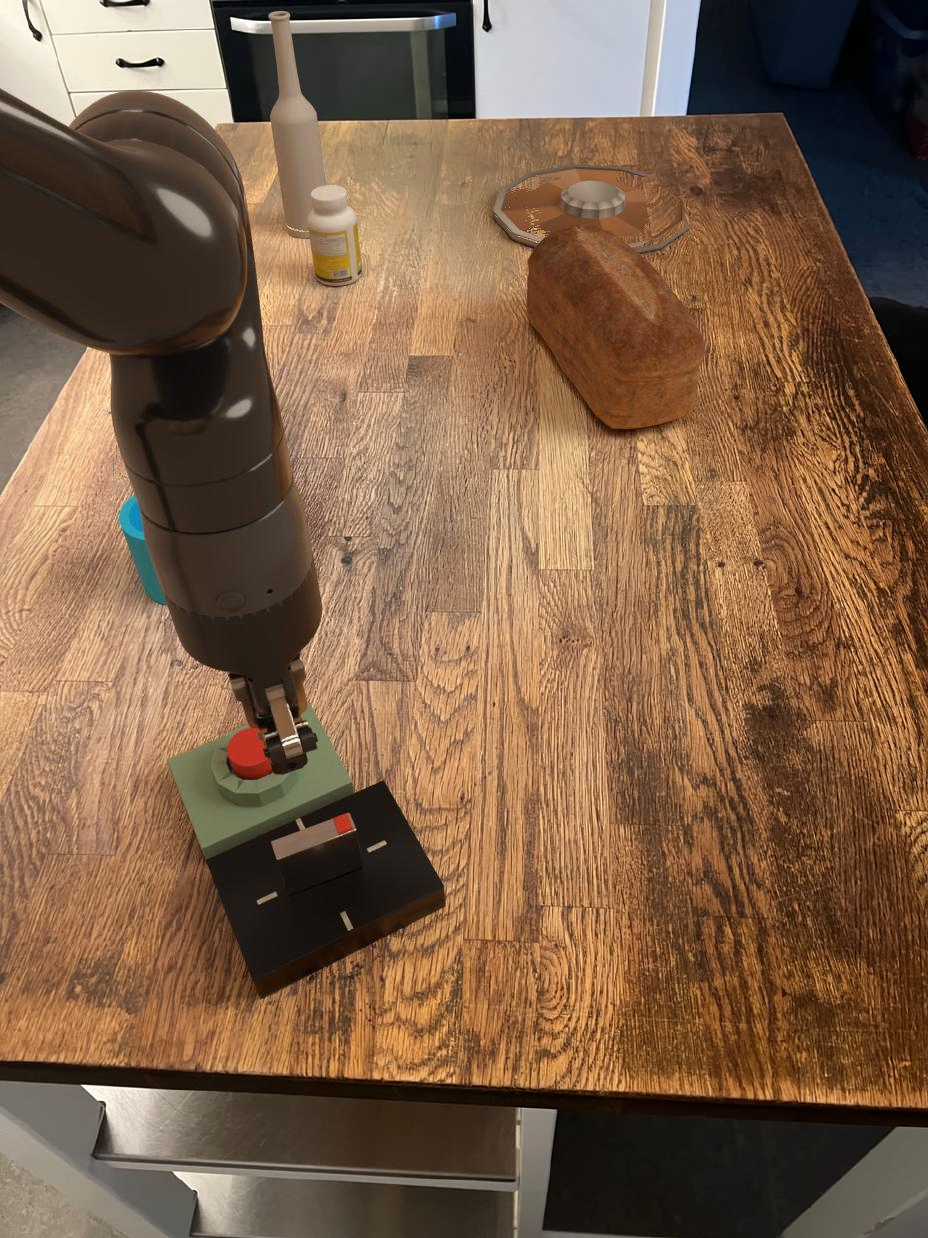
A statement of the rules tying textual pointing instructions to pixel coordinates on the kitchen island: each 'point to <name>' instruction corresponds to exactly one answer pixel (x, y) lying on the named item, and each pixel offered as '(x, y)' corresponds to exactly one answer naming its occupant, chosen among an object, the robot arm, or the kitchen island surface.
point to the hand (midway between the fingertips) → (288, 761)
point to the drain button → (248, 755)
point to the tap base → (326, 893)
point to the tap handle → (318, 853)
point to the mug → (140, 549)
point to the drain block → (254, 790)
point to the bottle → (294, 134)
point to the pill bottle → (334, 237)
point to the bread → (614, 327)
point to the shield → (579, 205)
